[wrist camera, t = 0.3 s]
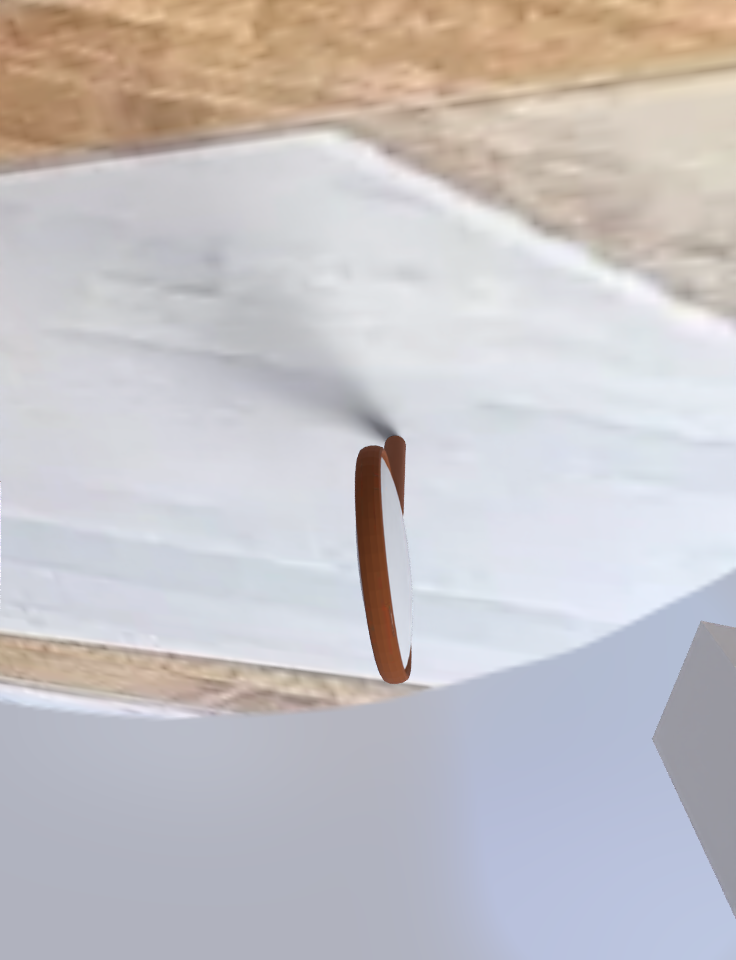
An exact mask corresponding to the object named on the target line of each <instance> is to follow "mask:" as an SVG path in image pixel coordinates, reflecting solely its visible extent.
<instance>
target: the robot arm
mask: <svg viewBox="0 0 736 960" xmlns="http://www.w3.org/2000/svg"><path fill="white" fill-rule="evenodd" d="M0 583H1V481H0ZM652 740H653V742H654V744H655V746H656V748H657V750H658V753H659V755H660V757H661V759H662V761H663V763H664V766H665V768H666V770H667V772H668V774H669V776H670V778H671V780H672V783H673V785H674V787H675V789H676V791H677V793H678V795H679V798H680V800H681V802H682V804H683V806H684V808H685V811H686V813H687V815H688V817H689V819H690V821H691V823H692V826H693V828H694V830H695V832H696V834H697V836H698V839H699V840H700V843H701V845H702V847H703V849H704V851H705V854H706V856H707V858H708V860H709V862H710V864H711V866H712V869H713V871H714V873H715V875H716V877H717V879H718V881H719V884H720V885H721V888H722V890H723V892H724V894H725V897H726V899H727V901H728V903H729V905H730V907H731V909H732V911H733V914H734V916H735V918H736V628H734V627H729V626H724V625H719V624H714V623H709V622H704V621H701V622H700V625H699V627H698V629H697V632H696V634H695V637H694V639H693V641H692V644H691V647H690V649H689V651H688V654H687V656H686V659H685V661H684V663H683V666H682V668H681V670H680V673H679V675H678V678H677V680H676V683H675V685H674V688H673V690H672V692H671V695H670V697H669V700H668V702H667V704H666V707H665V709H664V712H663V714H662V716H661V719H660V721H659V724H658V726H657V729H656V731H655V733H654V736H653V738H652Z"/></svg>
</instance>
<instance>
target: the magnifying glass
mask: <svg viewBox="0 0 736 960" xmlns="http://www.w3.org/2000/svg"><path fill="white" fill-rule="evenodd" d="M405 452H406V444H405V441H404V440H403V438H401V437H400V436H391V437H389V438H388V439H387V440H386V442H385V446H384V449H383V447H380V446H367V447H364V448H363V449H361V450H360V452H359V454H358V457H357V462H356V471H355V511H356V543H357V557H358V567H359V575H360V583H361V590H362V596H363V601H364V607H365V611H366V618H367V624H368V629H369V635H370V640H371V645H372V649H373V653H374V657H375V661H376V664H377V668H378V670H379V673H380V675H381V677H382V678H383V680H384V681H385V682H388V683H390V684H398V683H403V682H404V681H406V680H408V678H409V676H410V672H411V639H412V623H413V597H412V579H411V567H410V558H409V550H408V542H407V536H406V530H405V524H404V519H403V513H404V482H405Z"/></svg>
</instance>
